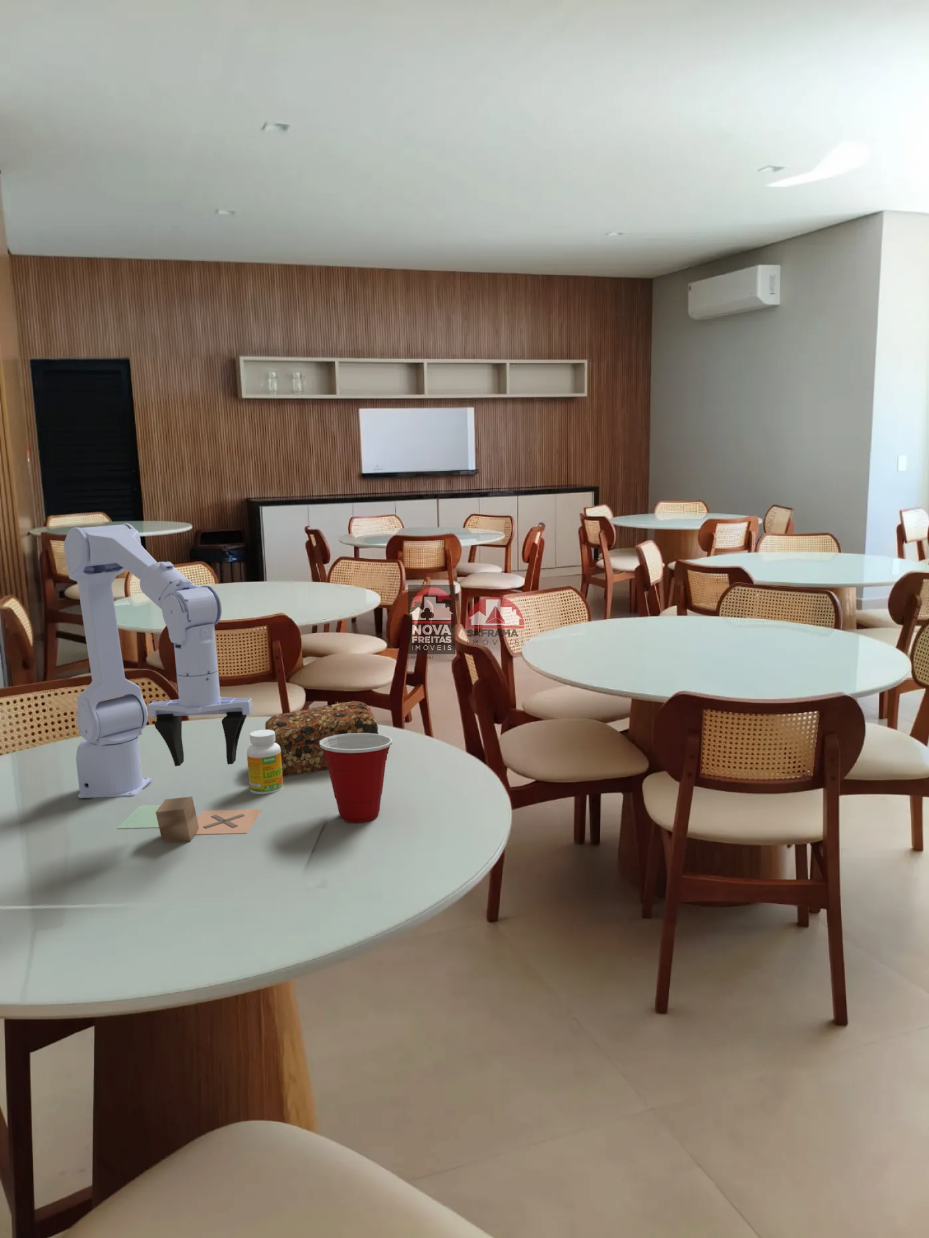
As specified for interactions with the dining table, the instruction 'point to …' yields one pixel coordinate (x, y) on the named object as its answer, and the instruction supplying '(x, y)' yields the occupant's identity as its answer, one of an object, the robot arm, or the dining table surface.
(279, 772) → the supplement bottle
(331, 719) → the bread
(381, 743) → the plastic cup
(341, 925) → the dining table surface
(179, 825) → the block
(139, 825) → the tile
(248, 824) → the tile
